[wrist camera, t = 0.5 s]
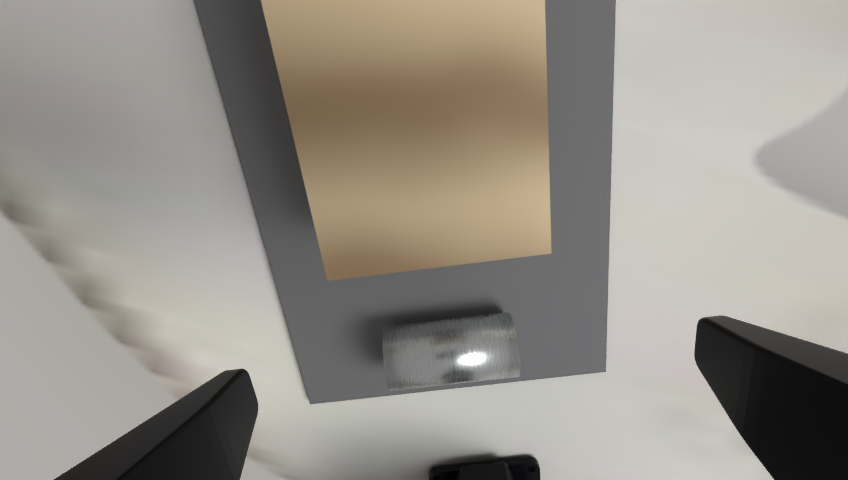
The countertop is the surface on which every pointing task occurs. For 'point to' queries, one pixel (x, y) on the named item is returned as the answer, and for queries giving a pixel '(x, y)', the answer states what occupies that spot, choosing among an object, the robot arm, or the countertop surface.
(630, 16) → the countertop surface
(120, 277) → the countertop surface
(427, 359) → the loose steel roller
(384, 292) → the rubber mat
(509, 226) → the oak slab
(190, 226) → the countertop surface
